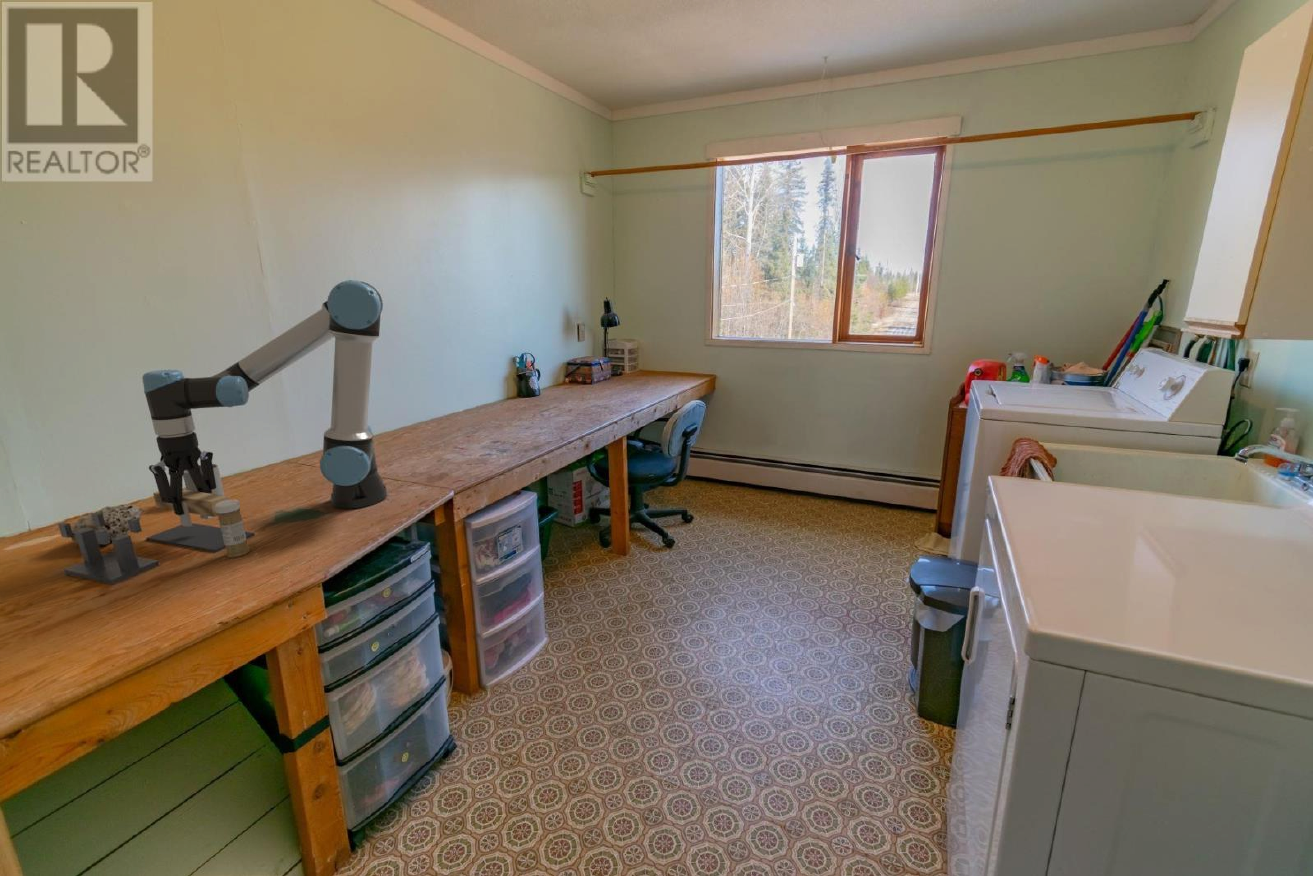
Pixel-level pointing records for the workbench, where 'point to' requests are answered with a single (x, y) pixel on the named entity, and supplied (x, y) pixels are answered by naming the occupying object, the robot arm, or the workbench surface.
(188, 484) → the cup
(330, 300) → the robot arm
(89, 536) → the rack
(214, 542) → the mat
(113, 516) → the pumice stone
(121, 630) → the workbench surface
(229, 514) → the sprinkles bottle
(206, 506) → the rail
